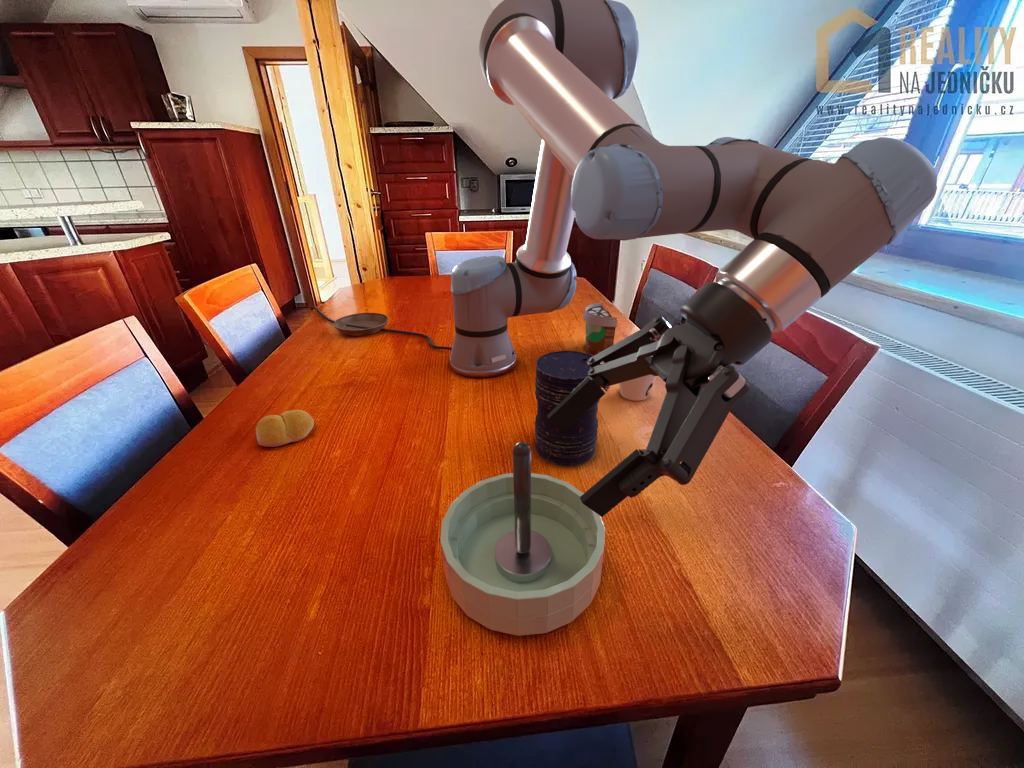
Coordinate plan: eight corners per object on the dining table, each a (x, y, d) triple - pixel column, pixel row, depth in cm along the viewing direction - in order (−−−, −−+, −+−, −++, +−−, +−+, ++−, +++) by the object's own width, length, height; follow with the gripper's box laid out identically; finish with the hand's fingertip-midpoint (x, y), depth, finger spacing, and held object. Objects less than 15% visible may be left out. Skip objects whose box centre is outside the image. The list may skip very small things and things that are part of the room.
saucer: (400, 326, 122) (399, 317, 121) (359, 342, 111) (357, 333, 110) (366, 318, 129) (364, 309, 128) (324, 333, 118) (322, 323, 117)
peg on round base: (483, 557, 49) (475, 442, 41) (524, 529, 52) (524, 418, 45) (520, 594, 44) (518, 473, 37) (562, 561, 48) (568, 444, 41)
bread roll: (319, 436, 73) (313, 416, 71) (260, 454, 68) (253, 434, 66) (310, 415, 79) (304, 396, 77) (256, 430, 74) (249, 411, 73)
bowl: (417, 557, 50) (410, 520, 47) (527, 489, 60) (527, 455, 57) (515, 679, 38) (514, 638, 35) (632, 568, 48) (638, 529, 45)
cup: (657, 406, 79) (664, 357, 75) (612, 402, 81) (617, 354, 76) (653, 386, 86) (660, 340, 82) (612, 383, 88) (617, 338, 83)
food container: (576, 340, 109) (578, 303, 105) (599, 339, 110) (602, 302, 105) (587, 360, 98) (590, 319, 94) (613, 359, 99) (617, 318, 94)
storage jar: (555, 474, 62) (558, 385, 56) (523, 440, 70) (522, 358, 63) (609, 454, 66) (618, 368, 60) (573, 424, 74) (577, 345, 67)
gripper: (885, 399, 28) (642, 579, 33) (693, 296, 50) (564, 415, 55) (840, 329, 25) (581, 540, 30) (657, 252, 47) (524, 382, 52)
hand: (570, 459), depth 43 cm, fingers open, 13 cm apart
